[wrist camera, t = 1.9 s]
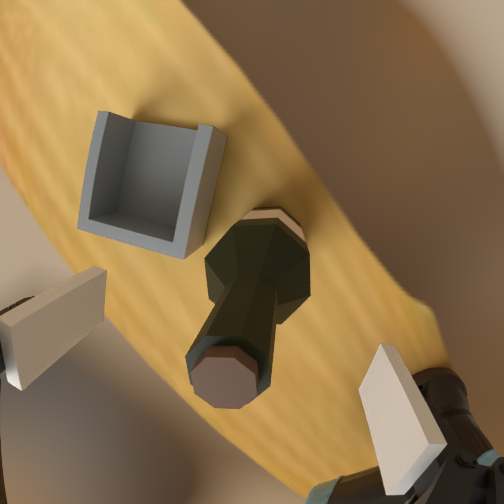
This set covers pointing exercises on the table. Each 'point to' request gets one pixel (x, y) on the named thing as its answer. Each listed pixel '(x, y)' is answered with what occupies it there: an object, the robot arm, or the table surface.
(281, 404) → the table surface
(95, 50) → the table surface
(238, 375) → the wine bottle
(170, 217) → the bottle stand
